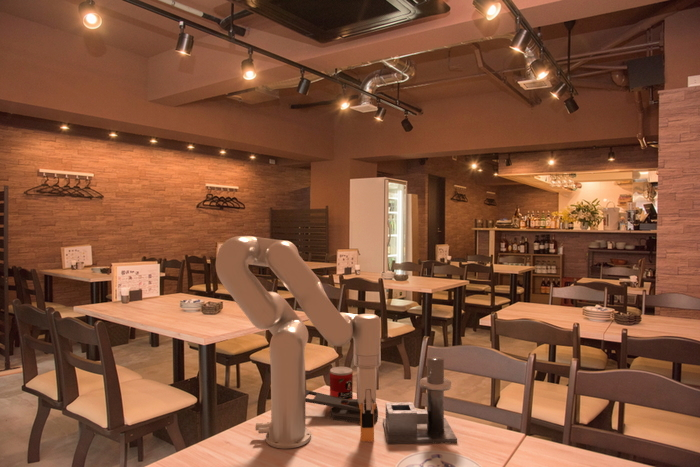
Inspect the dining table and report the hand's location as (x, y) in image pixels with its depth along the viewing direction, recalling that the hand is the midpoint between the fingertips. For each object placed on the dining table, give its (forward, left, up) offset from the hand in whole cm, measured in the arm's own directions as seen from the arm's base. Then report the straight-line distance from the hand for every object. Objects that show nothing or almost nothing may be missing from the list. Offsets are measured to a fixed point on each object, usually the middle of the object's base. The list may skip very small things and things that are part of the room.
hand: (367, 424), depth 129 cm
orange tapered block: (0, 0, -4) cm, 4 cm away
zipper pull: (-8, +17, -5) cm, 19 cm away
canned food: (-7, +28, -4) cm, 29 cm away
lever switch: (+15, +4, -4) cm, 16 cm away
